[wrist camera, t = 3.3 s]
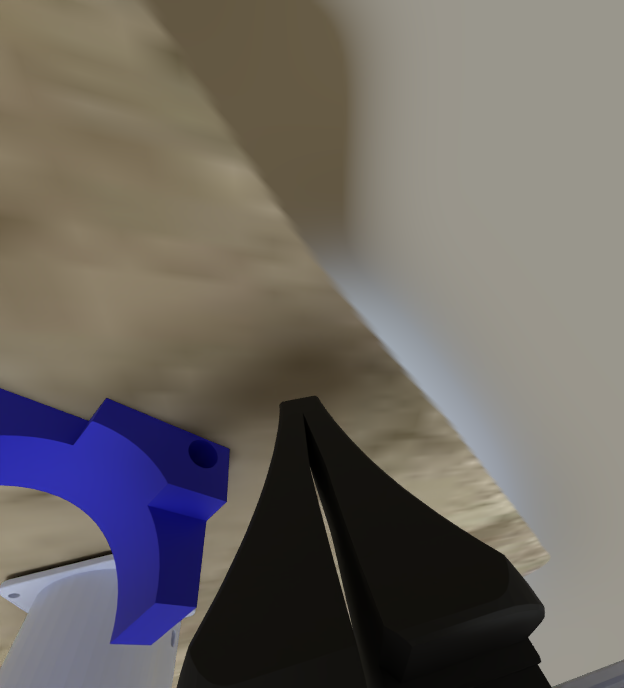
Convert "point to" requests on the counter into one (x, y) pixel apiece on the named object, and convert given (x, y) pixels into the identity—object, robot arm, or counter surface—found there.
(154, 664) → the robot arm
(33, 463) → the cable clip
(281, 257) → the counter surface
